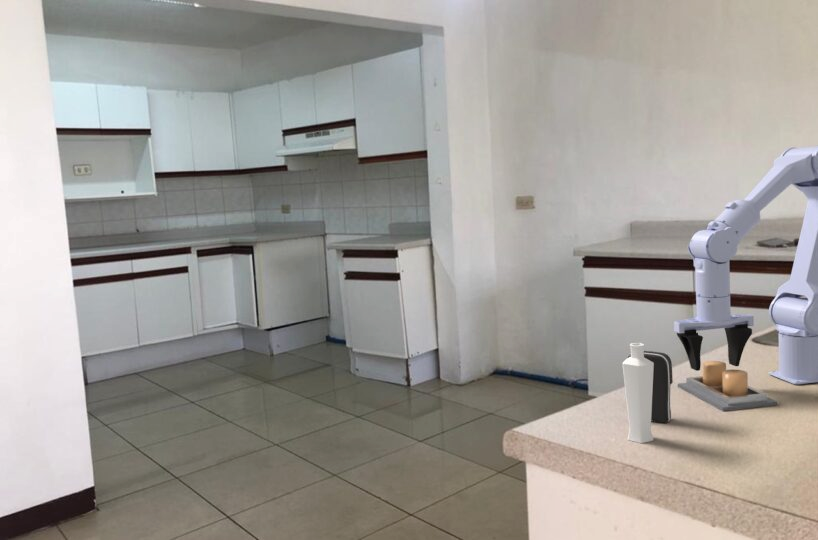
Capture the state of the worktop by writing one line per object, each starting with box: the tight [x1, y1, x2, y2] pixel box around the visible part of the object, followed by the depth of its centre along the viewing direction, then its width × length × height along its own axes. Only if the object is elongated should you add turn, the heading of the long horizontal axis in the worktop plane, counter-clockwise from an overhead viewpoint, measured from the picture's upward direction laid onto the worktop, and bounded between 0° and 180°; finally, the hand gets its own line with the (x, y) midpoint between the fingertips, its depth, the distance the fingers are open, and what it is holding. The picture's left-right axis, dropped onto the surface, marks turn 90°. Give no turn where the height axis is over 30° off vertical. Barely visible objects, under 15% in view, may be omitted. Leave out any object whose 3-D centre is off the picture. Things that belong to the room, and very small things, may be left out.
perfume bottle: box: [621, 342, 655, 444], centre depth 103 cm, size 5×4×15 cm
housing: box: [677, 369, 779, 412], centre depth 121 cm, size 10×15×5 cm, turn 6°
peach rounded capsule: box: [701, 360, 727, 387], centre depth 124 cm, size 4×4×4 cm
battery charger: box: [627, 350, 674, 424], centre depth 112 cm, size 7×4×11 cm, turn 50°
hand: (714, 367), depth 124 cm, fingers open, 7 cm apart
